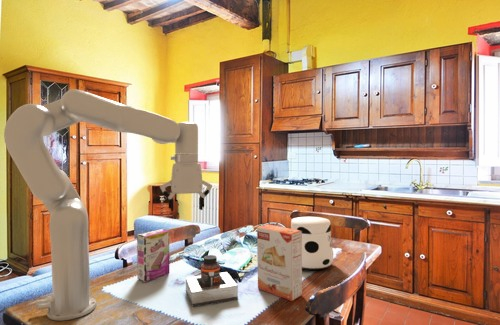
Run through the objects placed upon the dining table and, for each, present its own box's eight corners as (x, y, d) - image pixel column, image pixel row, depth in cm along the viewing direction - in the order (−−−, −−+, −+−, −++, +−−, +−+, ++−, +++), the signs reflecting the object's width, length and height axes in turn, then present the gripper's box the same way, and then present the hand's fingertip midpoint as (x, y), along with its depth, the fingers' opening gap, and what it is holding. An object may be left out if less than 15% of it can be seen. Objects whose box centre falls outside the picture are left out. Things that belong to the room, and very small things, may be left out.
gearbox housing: (192, 307, 96) (192, 292, 96) (186, 291, 108) (185, 277, 107) (237, 299, 101) (237, 285, 101) (227, 284, 112) (227, 271, 112)
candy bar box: (145, 283, 115) (144, 236, 114) (137, 280, 117) (135, 234, 117) (170, 273, 124) (169, 230, 123) (162, 270, 127) (161, 228, 126)
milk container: (341, 264, 130) (341, 219, 130) (318, 277, 118) (317, 227, 117) (304, 255, 142) (304, 214, 142) (280, 266, 130) (279, 221, 129)
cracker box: (256, 289, 108) (256, 226, 107) (268, 283, 113) (267, 223, 112) (291, 302, 99) (291, 233, 98) (302, 295, 103) (302, 229, 102)
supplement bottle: (216, 297, 101) (216, 260, 100) (198, 295, 102) (197, 259, 101) (222, 288, 107) (221, 254, 106) (204, 287, 108) (204, 253, 107)
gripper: (160, 159, 104) (160, 213, 105) (214, 159, 109) (214, 210, 110) (159, 159, 111) (159, 209, 112) (210, 159, 117) (209, 207, 117)
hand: (186, 210), depth 111 cm, fingers open, 9 cm apart
